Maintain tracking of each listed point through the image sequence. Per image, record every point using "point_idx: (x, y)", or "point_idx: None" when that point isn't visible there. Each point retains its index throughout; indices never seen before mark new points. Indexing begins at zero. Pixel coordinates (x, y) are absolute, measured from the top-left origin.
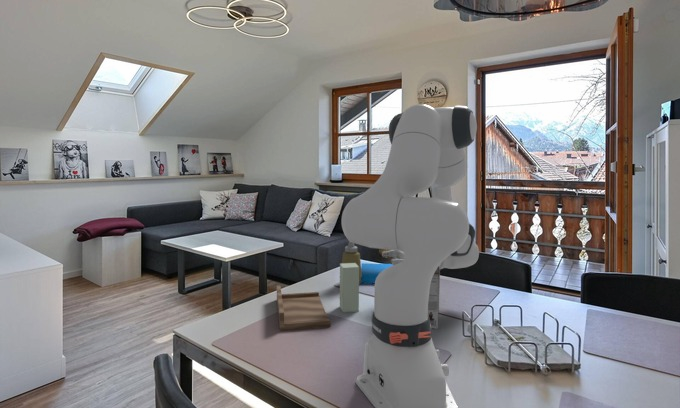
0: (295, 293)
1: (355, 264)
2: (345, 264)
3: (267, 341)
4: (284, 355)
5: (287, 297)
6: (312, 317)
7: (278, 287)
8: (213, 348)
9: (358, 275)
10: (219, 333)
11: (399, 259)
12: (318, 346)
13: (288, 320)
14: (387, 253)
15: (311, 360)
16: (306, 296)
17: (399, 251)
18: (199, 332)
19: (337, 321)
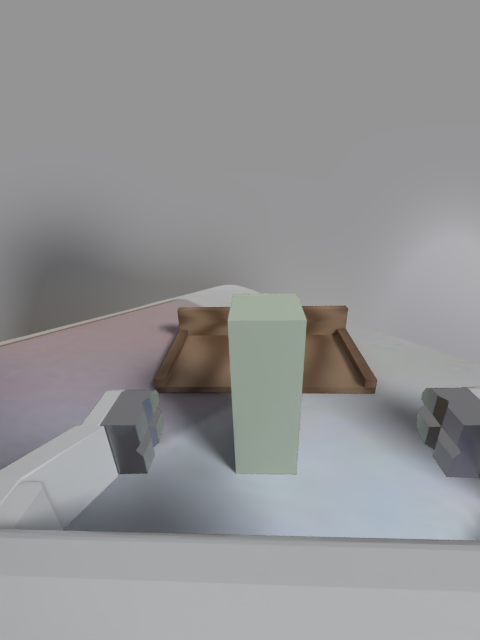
0: (354, 345)
1: (276, 317)
2: (280, 300)
3: (153, 327)
4: (95, 338)
5: (340, 341)
6: (208, 365)
7: (328, 307)
8: (165, 300)
9: (230, 355)
10: (206, 301)
11: (75, 437)
12: (86, 369)
13: (209, 339)
14: (452, 424)
15: (50, 359)
16: (353, 365)
17: (454, 540)
18: (216, 292)
19: (180, 408)
